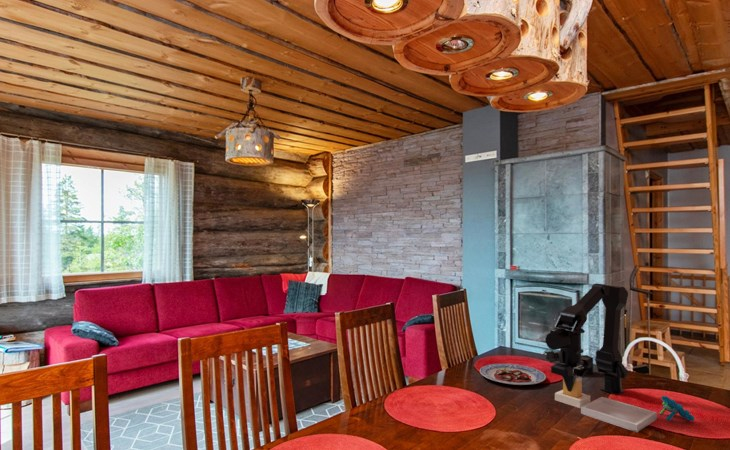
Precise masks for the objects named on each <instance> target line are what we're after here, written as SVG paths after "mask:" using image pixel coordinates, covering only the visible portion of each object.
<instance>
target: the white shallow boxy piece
mask: <svg viewBox="0 0 730 450" xmlns="http://www.w3.org/2000/svg"><path fill="white" fill-rule="evenodd" d="M554 401H557V402H560V403H563V404H565V405H568V406H572V407H574V408H578V409H581V407H582V406H584V405H586V404H588V403H590V402H591V395H589V394H585V393H583V392H582V397H580V398H574V397H571V396H568V395H565V394H563V389H561V390H559V391H556V392H555V393H554Z"/></svg>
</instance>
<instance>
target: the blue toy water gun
mask: <svg viewBox="0 0 730 450" xmlns="http://www.w3.org/2000/svg"><path fill="white" fill-rule="evenodd" d="M660 398H661V401H662V403H661V405H662V410H661V411H660V412H659V415H660V414H661V416H663V414H664V413H665V412H669V415H667V417H666V418H665V419H666V420H667V421H668V420H669V421H668V422H670V421H671V420H672V419H673V418H674V416H675V415H678V414H679V416H680V417H681V418H683V419H684V418H685V419H686V420H687V421H688V420H689V422H690V421H691V422H692V423H694V422H695V416H694V415H693V414H691V412H690V411H689V410H688V409H684V407H683V405H682V404H680V403H677V402H676V401H675V399H673V398H669V396H667V395H662V396H661V397H660Z"/></svg>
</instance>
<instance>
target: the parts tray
mask: <svg viewBox="0 0 730 450" xmlns="http://www.w3.org/2000/svg"><path fill="white" fill-rule="evenodd" d="M580 414H581V415H584V416H586V417H589V418H592V419H596V420H598V421H601V422H604V423H607V424H611V425H614V426H617V427H620V428H623V429H625V430H629V431H631V432H634V433H639V432H640V431H642V430H643V429H645V428H646V427H648V426H649V425H650V424H652V423H654V422H655V421H657V420H658V419H657V418H658V413H657V411H653V410H649V409H646V408H643V407H639V406H636V405H633V404H629V403H627V402H626V403H625V402H622V401H619V400H616V399H612V398H609V397H605V396H600V397H598V398H596V399H594V400H592V401H590V403H588V404H586V405H584V406H582V407H581V408H580Z"/></svg>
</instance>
